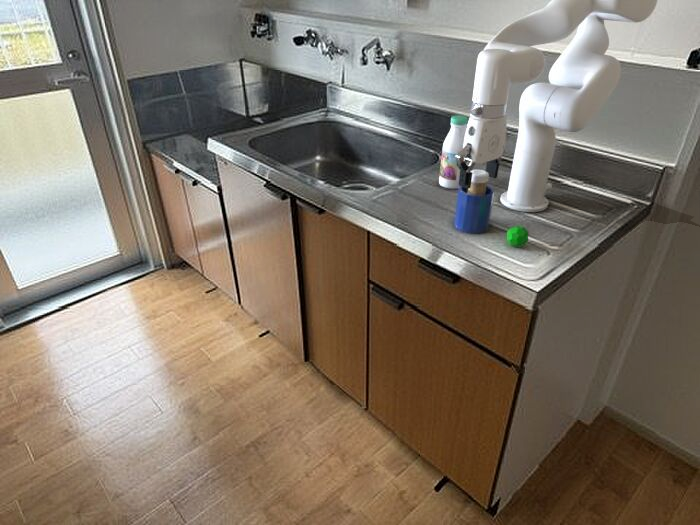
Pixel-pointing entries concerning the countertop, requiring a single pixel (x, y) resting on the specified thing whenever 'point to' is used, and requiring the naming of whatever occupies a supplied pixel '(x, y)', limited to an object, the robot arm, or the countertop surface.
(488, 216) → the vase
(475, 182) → the sprinkles bottle
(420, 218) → the countertop surface
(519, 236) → the polyhedron
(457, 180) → the milk bottle
